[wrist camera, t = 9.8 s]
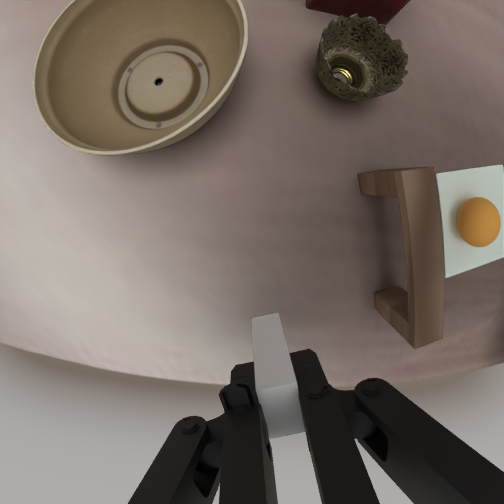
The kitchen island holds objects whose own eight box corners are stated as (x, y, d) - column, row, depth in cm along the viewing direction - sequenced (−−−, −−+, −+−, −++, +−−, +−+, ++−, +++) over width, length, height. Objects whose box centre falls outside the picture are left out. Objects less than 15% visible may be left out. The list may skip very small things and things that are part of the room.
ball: (466, 204, 25) (446, 198, 30) (471, 257, 26) (451, 244, 31) (507, 196, 24) (484, 191, 29) (510, 247, 25) (488, 236, 30)
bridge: (383, 169, 29) (433, 166, 20) (399, 302, 32) (442, 338, 23) (357, 173, 29) (401, 171, 20) (375, 309, 32) (414, 349, 23)
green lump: (386, 91, 27) (425, 69, 19) (337, 128, 28) (367, 111, 20) (340, 37, 26) (366, 1, 18) (287, 71, 27) (301, 36, 19)
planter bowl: (279, 104, 27) (297, 63, 17) (137, 197, 29) (85, 204, 18) (194, -4, 24) (177, -66, 14) (70, 80, 26) (12, 51, 15)
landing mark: (501, 164, 29) (502, 164, 29) (507, 254, 31) (508, 255, 31) (435, 173, 29) (436, 173, 29) (444, 277, 31) (445, 278, 31)
